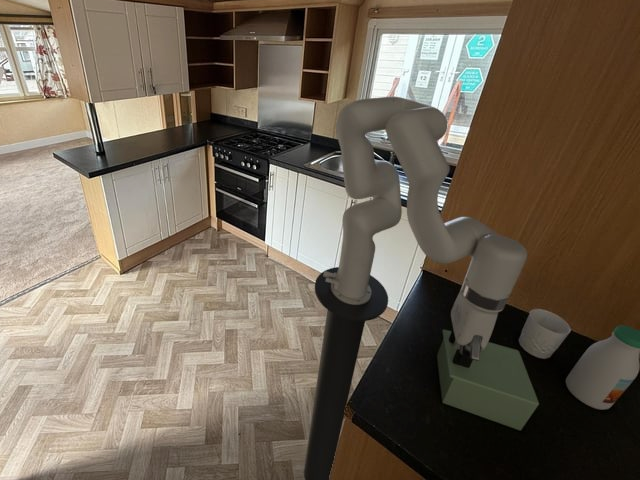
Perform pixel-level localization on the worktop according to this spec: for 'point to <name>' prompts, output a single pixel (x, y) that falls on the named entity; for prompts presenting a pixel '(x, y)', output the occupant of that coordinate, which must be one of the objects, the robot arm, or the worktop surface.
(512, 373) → the lid
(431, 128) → the robot arm
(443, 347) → the chest
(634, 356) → the milk bottle
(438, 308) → the worktop surface
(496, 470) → the worktop surface
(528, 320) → the white cup
